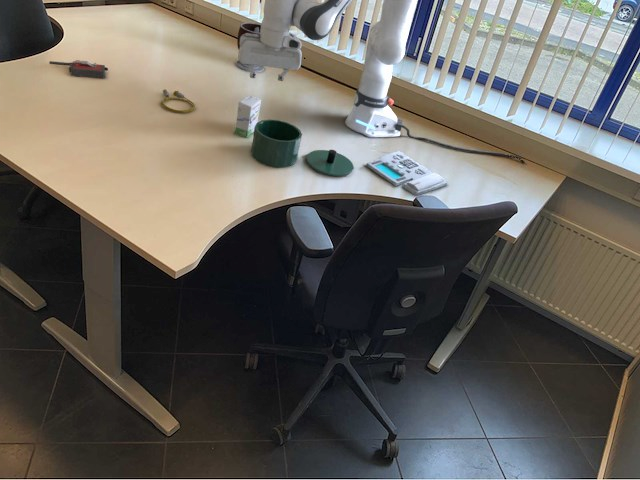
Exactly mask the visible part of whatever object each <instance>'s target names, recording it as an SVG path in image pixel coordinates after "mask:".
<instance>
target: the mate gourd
mask: <svg viewBox="0 0 640 480" xmlns="http://www.w3.org/2000/svg"><path fill="white" fill-rule="evenodd" d="M260 29H261V24H260V23H256V22H242V23H240V26H239V29H238V33H237V43H236V44H237V50H239V48H240V44H239V42H240V37H241V36H242V35H243V34H245V33H250V34H259V35H260ZM235 65H236V67H237V68H238V69H240V70H243V71H245V72H249V73H250V69H249V67H248V64H242V63H240V61H239V60H237V61H236V63H235ZM264 69H265V66H258V65H254V66H253V68H252V71H255V73H261V72H263V71H264Z"/></svg>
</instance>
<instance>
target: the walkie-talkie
mask: <svg viewBox="0 0 640 480" xmlns="http://www.w3.org/2000/svg"><path fill="white" fill-rule="evenodd" d="M48 63H49V64H50V65H55V66H68V72H69V74H70V73H71V76H73V77H82V78H93V79H94V78H95V79H105V78H106V72H107V71H109V68H108V67H106V66H105V64H97V63H96V62H94V63H90V62H89V61H88V60H80V59H79V60H78V59H77V60H73V61H72V62H64V61H52V60H50V61H48Z"/></svg>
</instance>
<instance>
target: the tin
mask: <svg viewBox="0 0 640 480" xmlns="http://www.w3.org/2000/svg"><path fill="white" fill-rule="evenodd" d="M302 136H303V133H302V131H301V129H300V128H298V127H297V126H296V125H294V124H292V123H290V122H288V121H284V120H280V119H269V118H268V119H262V120H259V121H258V122H257V124H256V125H255V129H254V132H253V136H252V142H251V147H250V148H251V149H250V153H251V156H252V158H253V159H254V160H255V161H257V162H258V163H259V164H262V165H264V166H266V167H271V168H277V169H283V168H285V169H286V168H289V167H290V168H291V167H292V166H293V165H295V164H296V163H297V159H298V156H299V152H300V151H299V150H300V147H301V142H302Z"/></svg>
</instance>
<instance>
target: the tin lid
mask: <svg viewBox="0 0 640 480" xmlns="http://www.w3.org/2000/svg"><path fill="white" fill-rule="evenodd" d="M306 162H307V164H308V165H309V167H310V168H311V169H313V170H315V171H317V172H318V173H321V174H324V175H328V176H333V177H345V176H348V175H349V174H351V173H352V172H353V170H354V164H353V162H352V161H351V160H350V159H349V158H348V157H346V156H345V155H344V154H341V153H339V152H337V151H336V150H335V149H329V150H327V149H316V150H312V151H310V152H309V153H308V154H307V156H306Z"/></svg>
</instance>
